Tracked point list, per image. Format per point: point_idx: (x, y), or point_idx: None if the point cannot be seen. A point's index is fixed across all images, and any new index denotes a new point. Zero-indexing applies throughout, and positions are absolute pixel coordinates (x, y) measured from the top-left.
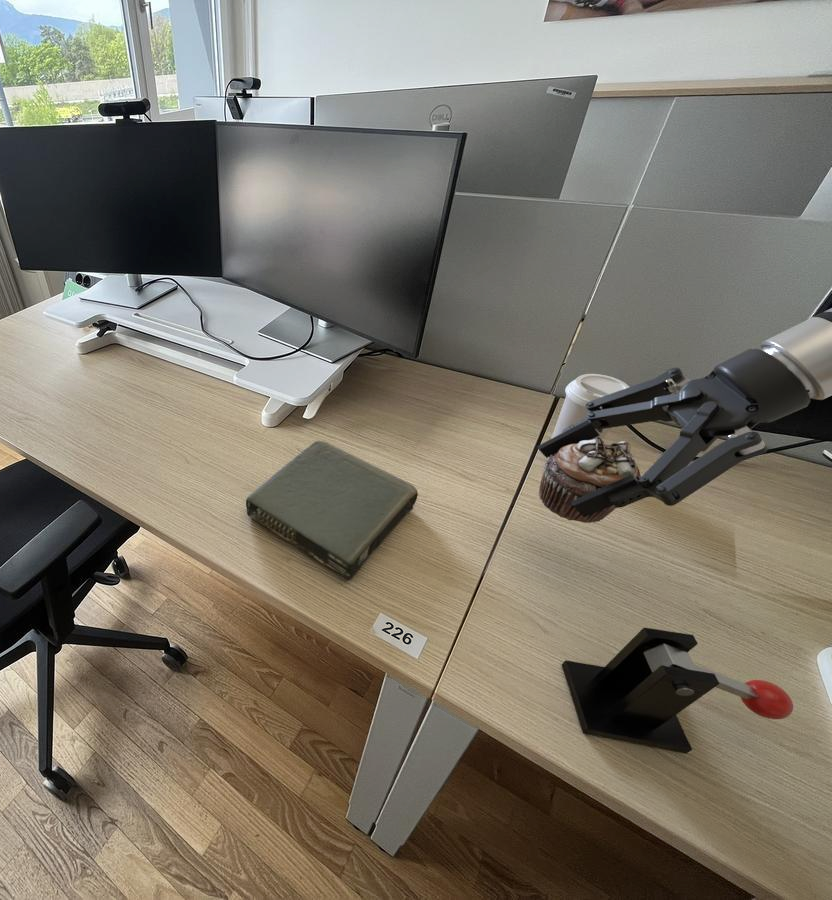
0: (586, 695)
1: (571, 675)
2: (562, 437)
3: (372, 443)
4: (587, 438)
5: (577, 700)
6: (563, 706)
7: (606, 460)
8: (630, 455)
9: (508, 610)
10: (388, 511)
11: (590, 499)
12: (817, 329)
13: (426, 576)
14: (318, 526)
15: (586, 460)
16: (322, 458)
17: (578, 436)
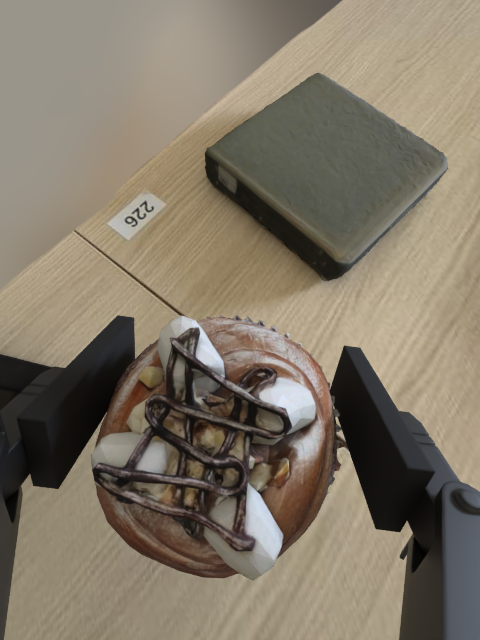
0: (13, 370)
1: (39, 365)
2: (367, 388)
3: (473, 268)
4: (367, 480)
5: (12, 357)
6: (20, 347)
7: (164, 396)
8: (154, 501)
9: (147, 343)
10: (294, 210)
11: (97, 336)
12: None
13: (209, 265)
14: (268, 129)
15: (178, 325)
16: (403, 155)
17: (369, 441)
